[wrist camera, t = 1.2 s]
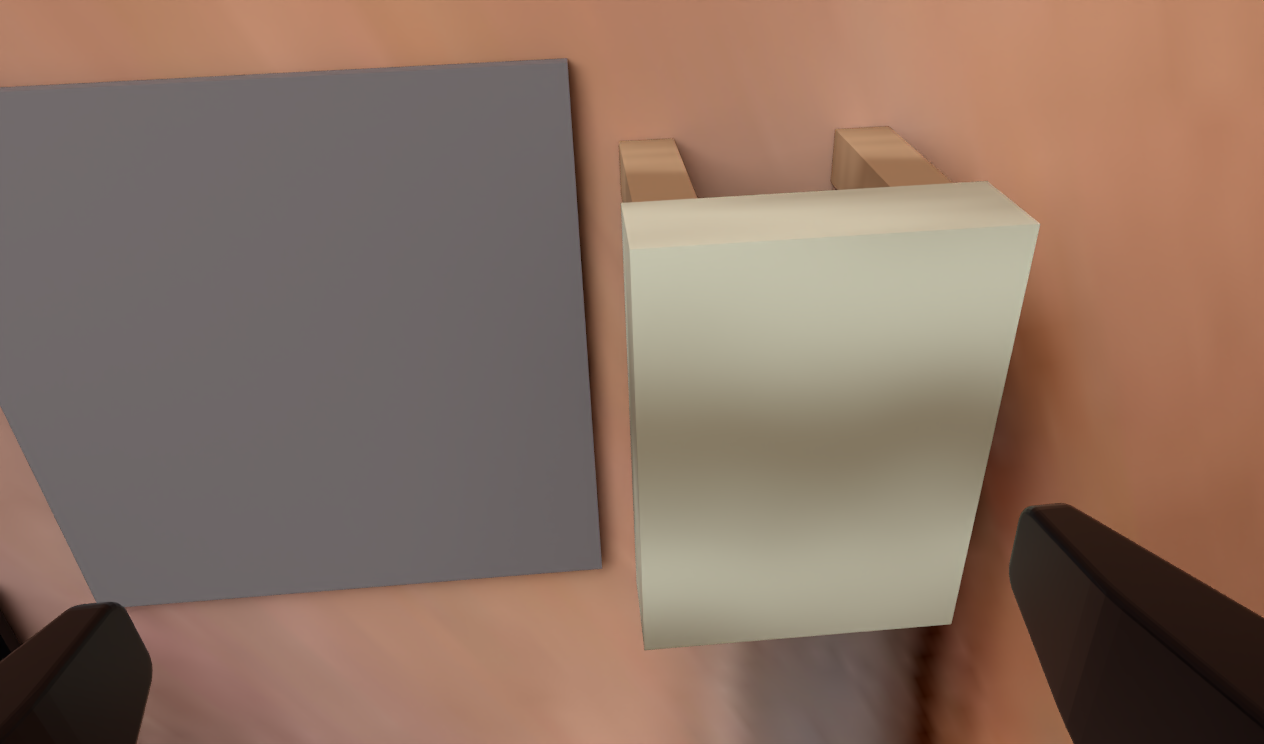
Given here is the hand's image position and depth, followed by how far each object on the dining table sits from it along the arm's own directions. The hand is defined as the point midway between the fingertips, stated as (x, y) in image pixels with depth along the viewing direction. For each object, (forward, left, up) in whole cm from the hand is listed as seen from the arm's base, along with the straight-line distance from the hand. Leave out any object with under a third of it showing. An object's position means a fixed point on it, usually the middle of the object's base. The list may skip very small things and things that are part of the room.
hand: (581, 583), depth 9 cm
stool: (-4, -4, -13) cm, 14 cm away
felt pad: (-5, +7, -13) cm, 15 cm away
